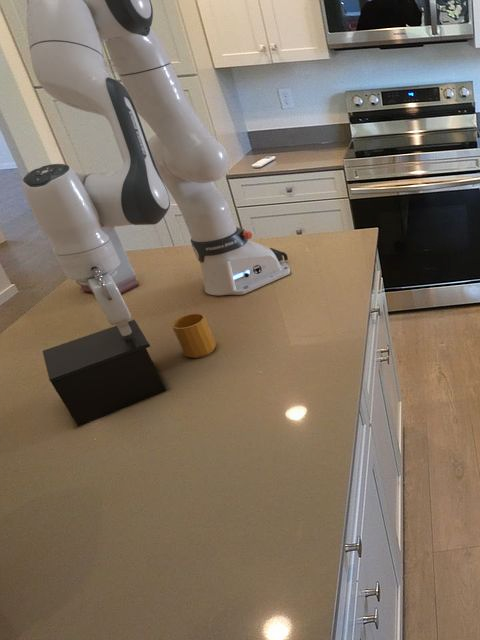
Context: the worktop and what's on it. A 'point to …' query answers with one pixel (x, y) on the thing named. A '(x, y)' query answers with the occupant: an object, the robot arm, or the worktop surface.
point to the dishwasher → (109, 387)
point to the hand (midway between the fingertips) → (123, 327)
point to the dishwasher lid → (92, 351)
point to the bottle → (124, 270)
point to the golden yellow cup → (194, 335)
